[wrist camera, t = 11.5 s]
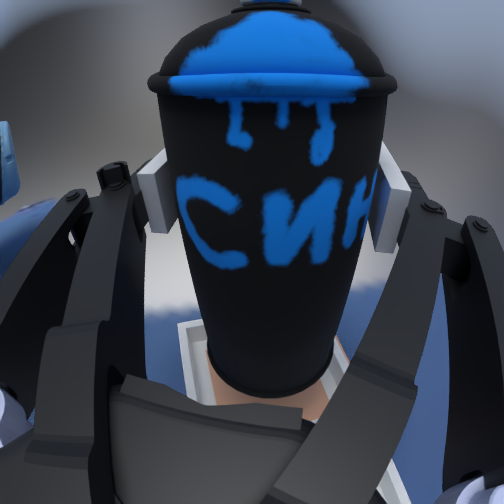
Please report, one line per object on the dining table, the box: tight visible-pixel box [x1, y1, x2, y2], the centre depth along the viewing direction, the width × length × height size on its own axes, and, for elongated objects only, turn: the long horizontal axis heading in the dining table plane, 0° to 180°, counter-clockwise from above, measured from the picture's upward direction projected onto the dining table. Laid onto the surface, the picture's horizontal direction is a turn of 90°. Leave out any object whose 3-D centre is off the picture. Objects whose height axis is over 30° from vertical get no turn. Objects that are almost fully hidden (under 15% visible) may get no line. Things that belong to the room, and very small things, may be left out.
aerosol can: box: [147, 0, 397, 399], centre depth 12 cm, size 8×8×20 cm
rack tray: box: [177, 319, 411, 504], centre depth 19 cm, size 25×13×4 cm, turn 14°
